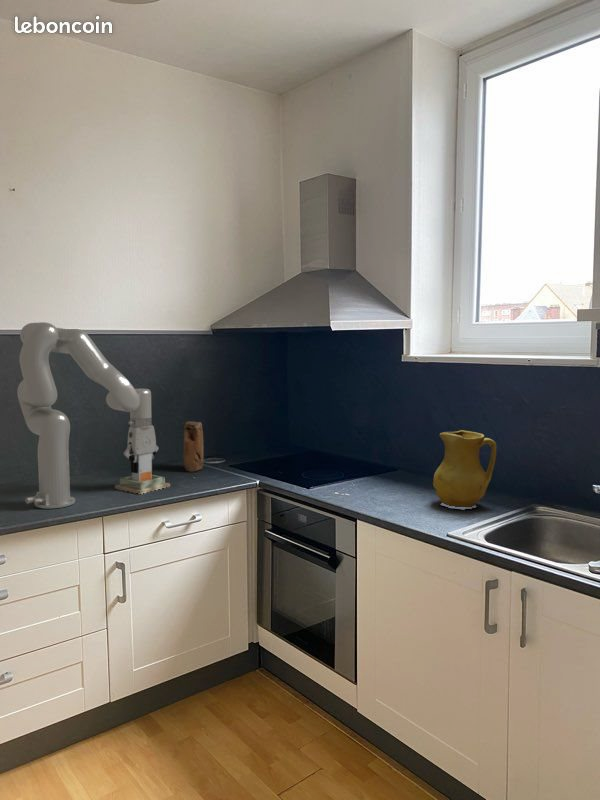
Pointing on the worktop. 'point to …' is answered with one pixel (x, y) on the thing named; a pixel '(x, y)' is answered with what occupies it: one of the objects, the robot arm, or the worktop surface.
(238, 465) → the worktop surface
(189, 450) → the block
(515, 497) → the worktop surface
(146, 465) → the skincare box
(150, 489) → the socket stand
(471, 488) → the pitcher
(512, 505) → the worktop surface
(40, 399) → the robot arm
